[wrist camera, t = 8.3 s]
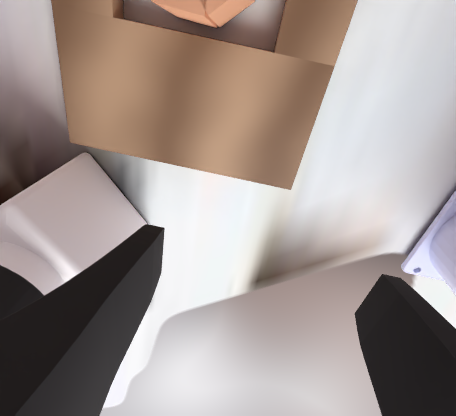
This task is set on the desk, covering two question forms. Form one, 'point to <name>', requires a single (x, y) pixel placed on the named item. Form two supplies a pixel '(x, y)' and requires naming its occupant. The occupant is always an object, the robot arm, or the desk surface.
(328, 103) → the desk surface
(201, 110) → the wooden u-shaped block
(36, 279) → the medicine bottle
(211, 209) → the desk surface
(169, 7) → the hollow octagonal tube
